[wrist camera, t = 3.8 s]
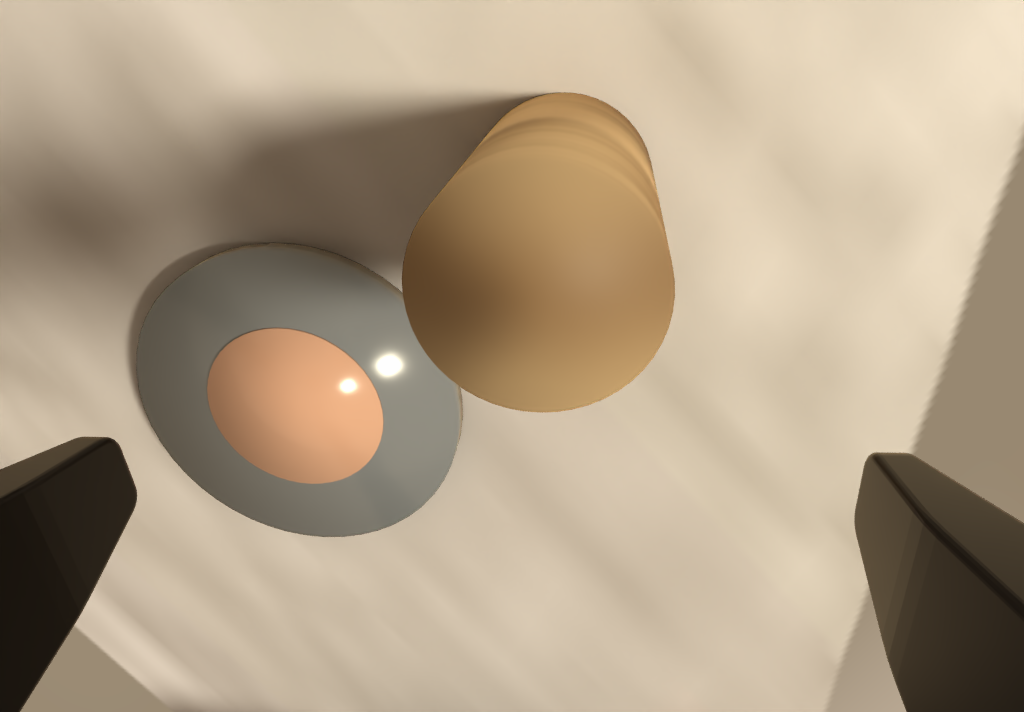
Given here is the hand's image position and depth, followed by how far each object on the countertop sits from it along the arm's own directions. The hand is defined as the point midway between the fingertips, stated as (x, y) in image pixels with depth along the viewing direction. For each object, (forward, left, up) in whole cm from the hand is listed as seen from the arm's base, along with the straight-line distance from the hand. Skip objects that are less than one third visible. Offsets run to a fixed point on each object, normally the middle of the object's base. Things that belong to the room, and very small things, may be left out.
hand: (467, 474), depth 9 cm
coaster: (-7, +9, -13) cm, 17 cm away
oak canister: (0, 0, -13) cm, 13 cm away
